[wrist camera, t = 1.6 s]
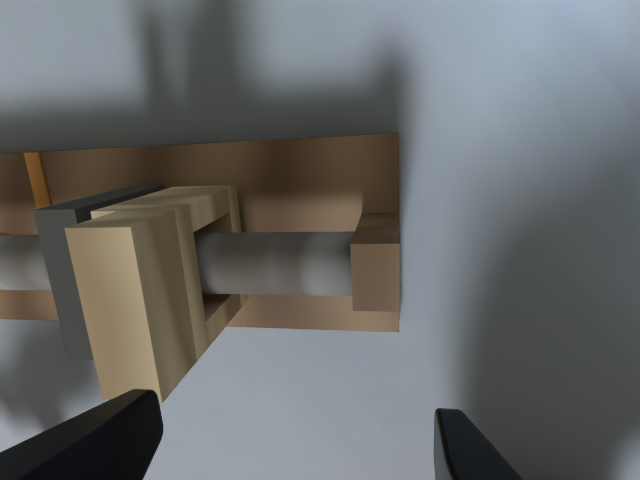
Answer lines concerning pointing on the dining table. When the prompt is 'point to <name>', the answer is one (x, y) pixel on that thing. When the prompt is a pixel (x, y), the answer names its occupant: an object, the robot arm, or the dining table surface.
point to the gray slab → (60, 262)
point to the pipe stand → (255, 217)
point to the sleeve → (151, 285)
